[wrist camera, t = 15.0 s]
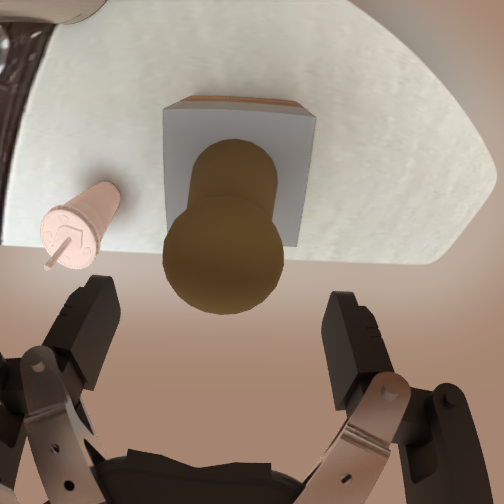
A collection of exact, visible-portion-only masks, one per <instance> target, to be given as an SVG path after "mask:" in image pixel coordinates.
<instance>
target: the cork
mask: <svg viewBox="0 0 504 504" xmlns="http://www.w3.org/2000/svg"><path fill="white" fill-rule="evenodd" d="M277 186H278V177H277V170H276V167H275V165H274V162H273V160H272V158H271V157H270V156H269V155H268V154H267V153H266V152H265V150H264V149H262V148H261V147H259V146H257V145H256V144H254V143H252V142H250V141H245V140H241V139H228V140H221V141H219V142H217V143H214V144H212V145H210V146H208V147H207V148H206V149H205V150H204V151H203V152H202V153H201V154H199V156H198V158H197V160H196V161H195V163H194V165H193V169H192V174H191V180H190V187H189V194H188V202H187V209H186V210H185V211H184V212H183V213H181V214H180V215H179V216H178V217H177V218H176V219H175V220H174V222H173V224H172V226H171V228H170V230H169V232H168V234H167V236H166V238H165V240H164V247H163V267H164V271H165V274H166V278H167V280H168V281H169V283H170V285H171V286H172V288H173V289H174V290H175V292H176V293H177V295H178V296H179V297H180V298H181V299H183V300H184V301H185V302H187V303H188V304H189V305H190V306H193V307H195V308H197V309H199V310H201V311H204V312H208V313H213V314H219V315H224V314H237V313H240V312H244V311H247V310H250V309H252V308H253V307H255V306H257V305H258V304H260V303H262V302H263V301H264V300H265V299H266V298H267V297H268V296H269V295H270V293H271V292H272V291H273V290H274V289H275V287H276V286H277V283H278V281H279V278H280V276H281V273H282V270H283V266H284V252H283V244H282V240H281V238H280V235H279V233H278V231H277V228H276V226H275V225H274V223H273V222H272V218H273V212H274V205H275V199H276V193H277Z"/></svg>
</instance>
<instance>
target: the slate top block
mask: <svg viewBox="0 0 504 504" xmlns="http://www.w3.org/2000/svg"><path fill="white" fill-rule="evenodd" d="M315 123H316V117H315V116H314V115H313V114H311V113H310V112H309V111H307V110H306V109H305V108H300V107H291V106H282V105H271V104H258V103H243V102H220V101H179V102H177V103H174V104H172V105H170V106H168V107H166V108H164V109H163V160H164V185H165V204H166V219H167V233H168V232H169V230H170V228H171V226H172V224H173V222H174V220H175V219H176V218H177V217H178V216H179V215H180V214H181V213H183V212H184V211H185V210H186V209H187V202H188V194H189V187H190V180H191V174H192V169H193V165H194V163H195V161H196V160H197V158H198V156H199V154H201V153H202V152H203V151H204V150H205V149H206V148H207V147H208V146H210V145H212V144H214V143H217V142H219V141H221V140H228V139H241V140H245V141H250V142H252V143H254V144H256V145H257V146H259V147H261V148H262V149H264V150H265V152H266V153H267V154H268V155H269V156H270V157H271V158H272V160H273V162H274V165H275V167H276V170H277V177H278V186H277V193H276V199H275V205H274V212H273V218H272V222H273V223H274V225H275V226H276V228H277V231H278V233H279V235H280V238H281V240H282V244H283V246H292V247H297V242H298V236H299V230H300V224H301V218H302V212H303V206H304V200H305V193H306V187H307V180H308V173H309V167H310V160H311V153H312V145H313V138H314V131H315Z"/></svg>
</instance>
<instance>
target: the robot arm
mask: <svg viewBox="0 0 504 504" xmlns="http://www.w3.org/2000/svg"><path fill="white" fill-rule="evenodd" d="M105 1H106V0H0V22H39V23H50V24H73V23H76V22H79V21H82V20H84V19H86V18H87V17H89V16H91V15H92V14H93V13H94V12H96V11H97V10H98V9H99V8H100V7H101V6H102V5H103V4H104V3H105ZM120 311H121V310H120V304H119V301H118V297H117V293H116V289H115V285H114V281H113V279H112V277H110V276H101V275H92V276H91V277H90V278H89V280H88V282H87V283H86V285H85V286H84V287H79V288H78V289H77V290H76V291H74V292H73V293H72V294H71V295H70V296H69V298H68V299H67V301H66V303H65V304H64V307H63V308H62V309H61V311H60V314H59V315H58V316H57V318H56V320H55V322H54V323H53V325H52V327H51V329H50V331H49V333H48V334H47V336H46V338H45V340H44V342H43V344H42V345H41V346H35V347H32V348H31V349H29V350H28V351H26V352H25V353H24V355H23V357H22V358H11V359H10V358H9V359H4V357H3V356H2V354H1V353H0V403H1V404H0V504H19V502H18V501H17V498H16V495H15V493H14V492H13V491H14V486H15V481H16V476H17V472H18V467H19V463H20V459H21V455H22V451H23V447H24V444H25V440H26V437H28V440H29V444H30V447H31V451H32V454H33V457H34V461H35V463H36V466H37V470H38V473H39V475H40V478H41V481H42V483H43V486H44V489H45V492H46V494H47V496H48V499H49V500H48V501H47V502H45V503H44V504H364V503H365V501H366V499H367V498H368V496H369V494H370V492H371V491H372V489H373V487H374V485H375V484H376V482H377V480H378V478H379V476H380V474H381V472H382V470H383V469H384V467H385V465H386V463H387V461H388V459H389V456H390V450H389V445H390V443H396V444H398V447H399V454H400V460H401V466H402V472H403V480H404V487H405V495H406V503H407V504H493V498H492V493H491V487H490V483H489V478H488V473H487V469H486V465H485V461H484V457H483V453H482V449H481V446H480V442H479V438H478V435H477V432H476V428H475V425H474V422H473V419H472V415H471V412H470V409H469V406H468V403H467V400H466V398H465V395H464V393H463V392H462V391H461V390H460V389H459V388H458V387H457V386H455V385H453V384H450V383H443V384H440V385H438V386H437V387H436V389H435V390H434V391H428V390H422V389H417V388H412V387H410V386H409V384H408V382H407V381H406V380H405V379H404V378H403V377H402V376H401V375H399V374H397V373H395V372H394V369H393V366H392V364H391V361H390V358H389V355H388V352H387V349H386V347H385V344H384V341H383V339H382V338H381V333H380V331H379V329H378V325H377V322H376V320H375V317H374V315H373V314H372V313H371V312H370V311H369V310H368V309H367V307H366V306H358V303H357V300H356V298H355V295H354V293H353V292H344V291H343V292H342V291H333V292H332V293H331V295H330V298H329V301H328V305H327V308H326V311H325V314H324V318H323V321H322V329H321V334H322V340H323V345H324V350H325V355H326V360H327V366H328V371H329V376H330V381H331V387H332V392H333V398H334V404H335V409H336V411H337V410H346V414H347V418H346V420H345V421H344V423H343V424H342V426H341V428H340V430H339V431H338V432H337V434H336V436H335V437H334V439H333V440H332V442H331V443H330V445H329V446H328V448H327V449H326V451H325V452H324V453H323V455H322V456H321V458H320V459H319V460H318V462H317V463H316V464H315V466H314V467H313V468H312V469H311V471H310V472H309V473H308V475H307V476H306V477H305V479H304V480H303V481H302V483H301V482H299V481H298V480H296V479H294V478H293V477H290V476H288V475H286V474H283V473H280V472H277V471H273V470H271V463H238V462H234V463H229V464H222V465H216V466H210V467H202V468H196V467H192V466H189V465H186V464H184V463H181V462H178V461H176V460H173V459H170V458H168V457H165V456H163V455H159V454H153V453H147V452H141V451H136V450H131V449H128V452H127V456H123V457H116V458H112V459H110V457H109V455H108V453H107V452H106V450H105V449H104V447H103V446H102V444H101V442H100V441H99V439H98V437H97V435H96V432H95V430H94V428H93V425H92V423H91V420H90V418H89V416H88V413H87V410H86V408H85V405H84V403H83V400H82V398H81V393H82V390H83V389H87V390H91V391H94V388H95V385H96V382H97V379H98V376H99V373H100V371H101V368H102V365H103V362H104V359H105V357H106V354H107V352H108V349H109V346H110V344H111V341H112V339H113V336H114V334H115V331H116V329H117V326H118V324H119V321H120V314H121V312H120Z"/></svg>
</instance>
